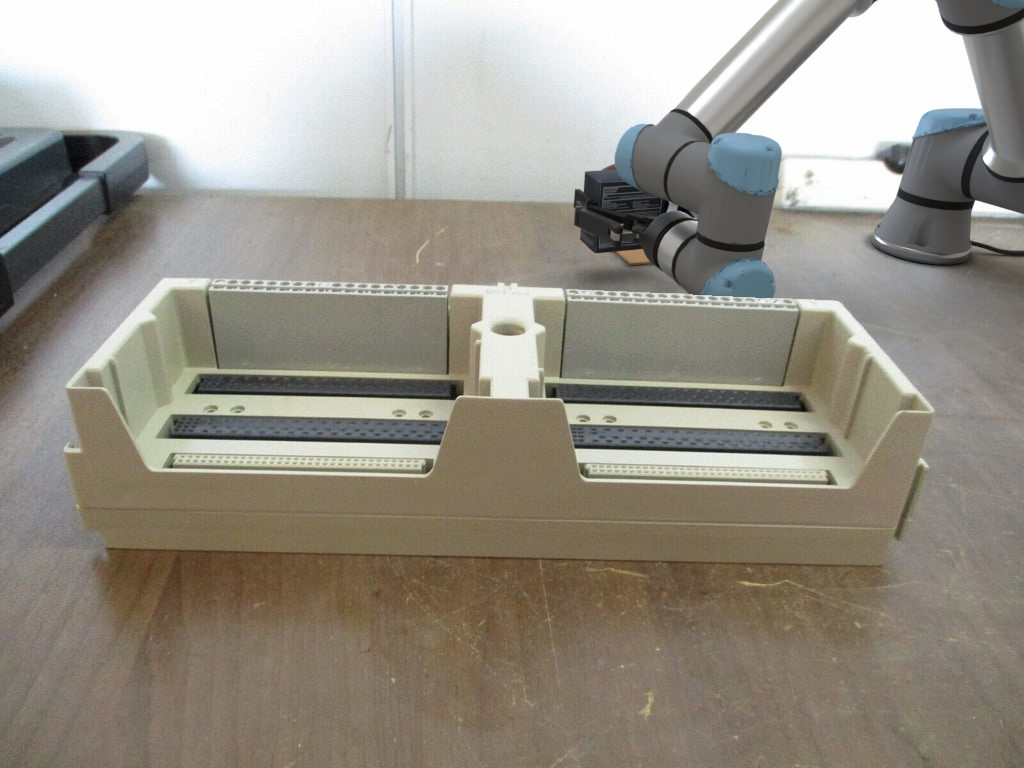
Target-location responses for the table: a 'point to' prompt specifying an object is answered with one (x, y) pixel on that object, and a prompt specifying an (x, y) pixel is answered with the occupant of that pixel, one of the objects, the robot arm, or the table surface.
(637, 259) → the cork mat
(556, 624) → the table surface
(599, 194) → the small box
